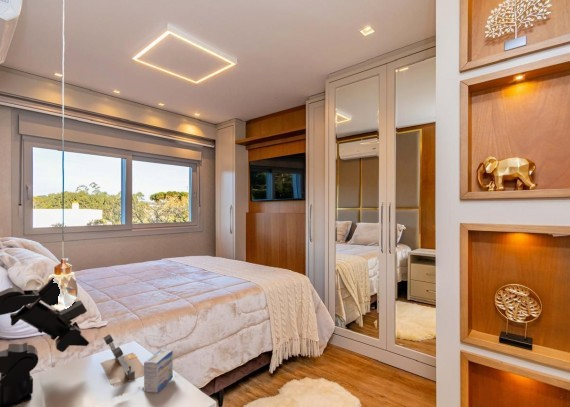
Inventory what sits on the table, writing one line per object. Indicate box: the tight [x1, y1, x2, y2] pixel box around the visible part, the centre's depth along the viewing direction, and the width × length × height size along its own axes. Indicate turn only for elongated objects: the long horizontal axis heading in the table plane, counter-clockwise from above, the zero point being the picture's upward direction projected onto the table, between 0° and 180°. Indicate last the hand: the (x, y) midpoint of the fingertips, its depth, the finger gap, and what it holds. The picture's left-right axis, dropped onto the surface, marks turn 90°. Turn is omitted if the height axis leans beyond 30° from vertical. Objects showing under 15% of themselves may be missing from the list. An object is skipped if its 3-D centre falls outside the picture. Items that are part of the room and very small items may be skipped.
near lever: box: [111, 346, 131, 377], centre depth 88 cm, size 2×3×9 cm, turn 44°
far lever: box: [102, 334, 118, 362], centre depth 97 cm, size 2×3×9 cm, turn 43°
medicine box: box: [143, 349, 174, 394], centre depth 87 cm, size 8×4×9 cm, turn 168°
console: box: [100, 352, 144, 388], centre depth 93 cm, size 10×18×4 cm, turn 43°
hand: (87, 344), depth 92 cm, fingers closed
